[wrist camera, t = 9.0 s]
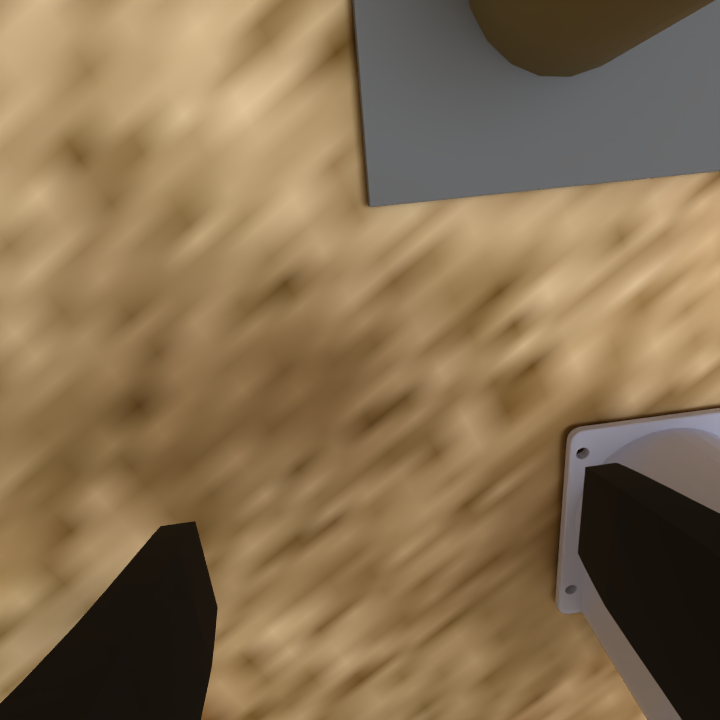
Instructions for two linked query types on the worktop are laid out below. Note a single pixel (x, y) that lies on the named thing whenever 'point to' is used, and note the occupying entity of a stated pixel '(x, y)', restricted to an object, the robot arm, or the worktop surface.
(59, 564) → the worktop surface
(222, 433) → the worktop surface
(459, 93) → the rubber mat
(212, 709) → the worktop surface
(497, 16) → the olive brown rounded piece
